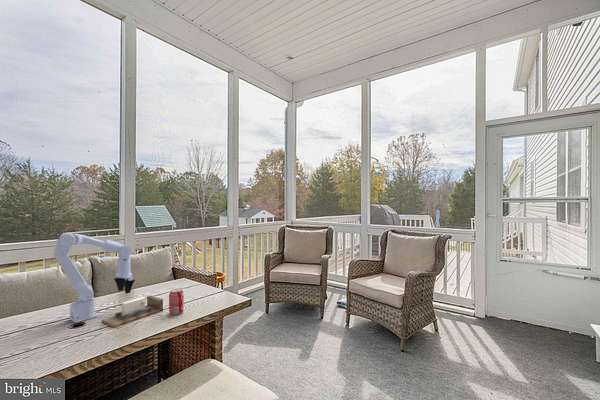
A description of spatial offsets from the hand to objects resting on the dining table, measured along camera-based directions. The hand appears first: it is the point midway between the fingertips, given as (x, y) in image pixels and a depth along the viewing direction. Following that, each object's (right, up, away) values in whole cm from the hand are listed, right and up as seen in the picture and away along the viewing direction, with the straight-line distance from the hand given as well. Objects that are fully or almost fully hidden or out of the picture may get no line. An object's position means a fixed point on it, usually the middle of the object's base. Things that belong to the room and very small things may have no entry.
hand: (124, 291), depth 151 cm
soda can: (+31, -10, -6) cm, 33 cm away
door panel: (+11, -8, -9) cm, 16 cm away
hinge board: (+11, -9, -9) cm, 17 cm away
